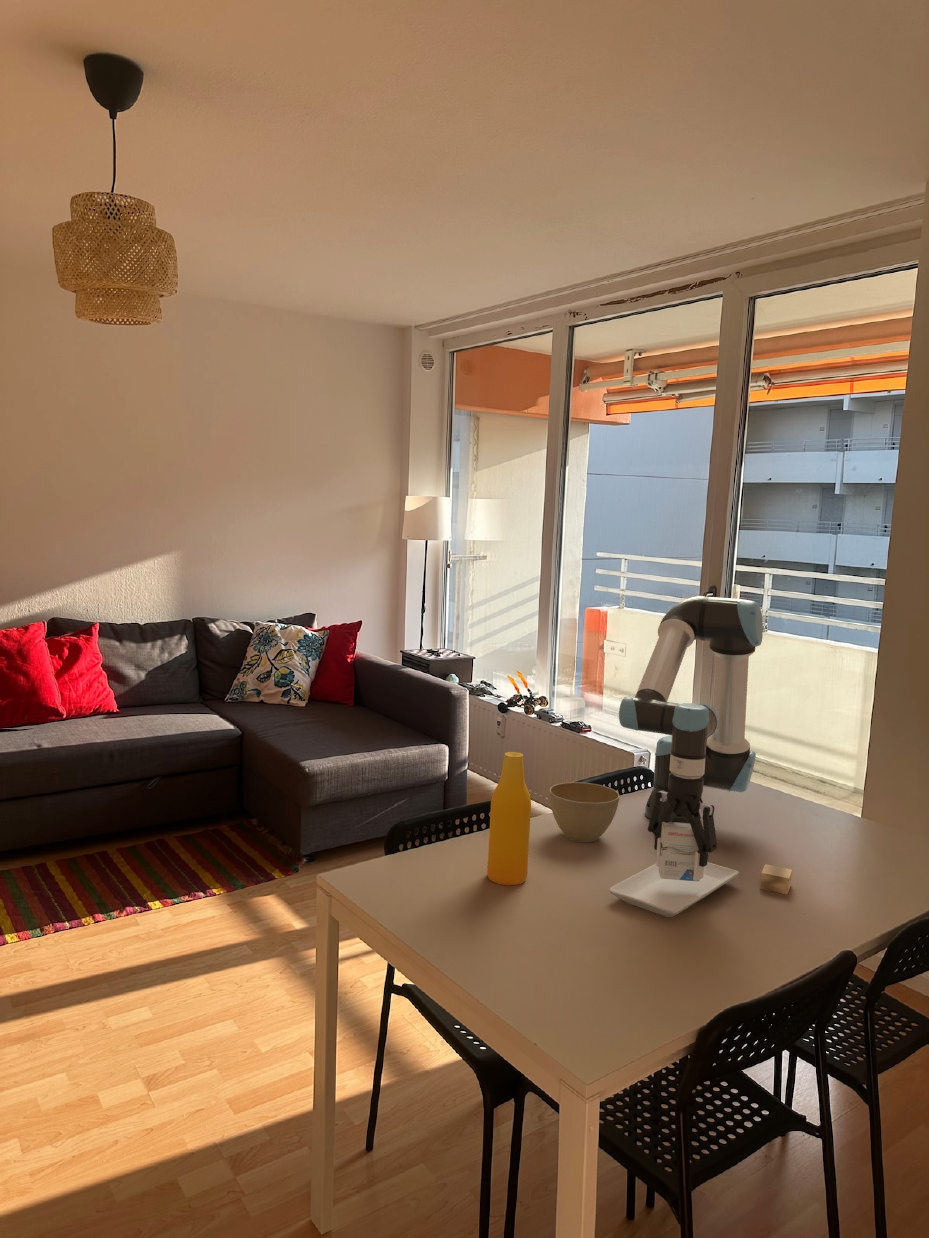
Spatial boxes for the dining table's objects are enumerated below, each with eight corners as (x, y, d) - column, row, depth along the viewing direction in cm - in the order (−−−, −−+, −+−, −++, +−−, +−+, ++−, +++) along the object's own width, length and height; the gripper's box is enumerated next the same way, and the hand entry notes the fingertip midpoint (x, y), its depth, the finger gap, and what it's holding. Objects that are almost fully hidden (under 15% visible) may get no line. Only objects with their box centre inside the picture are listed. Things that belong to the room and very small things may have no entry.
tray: (605, 902, 193) (606, 887, 193) (674, 864, 217) (675, 850, 217) (675, 928, 182) (677, 912, 182) (740, 885, 206) (741, 871, 206)
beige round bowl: (626, 835, 235) (630, 790, 234) (599, 855, 220) (602, 807, 219) (565, 820, 245) (568, 777, 243) (534, 838, 229) (537, 792, 228)
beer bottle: (535, 878, 204) (542, 755, 200) (509, 889, 197) (516, 762, 194) (504, 866, 210) (511, 746, 207) (478, 876, 203) (484, 753, 200)
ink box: (696, 873, 201) (700, 823, 200) (699, 882, 196) (703, 830, 195) (657, 870, 202) (661, 820, 200) (660, 878, 197) (664, 827, 196)
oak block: (760, 889, 204) (761, 872, 204) (763, 880, 210) (765, 864, 209) (787, 895, 202) (789, 878, 201) (790, 886, 207) (792, 869, 207)
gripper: (635, 765, 202) (629, 860, 204) (721, 789, 186) (712, 892, 188) (655, 760, 207) (648, 853, 209) (740, 783, 191) (731, 883, 194)
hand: (678, 871), depth 199 cm, fingers closed on ink box, 9 cm apart
